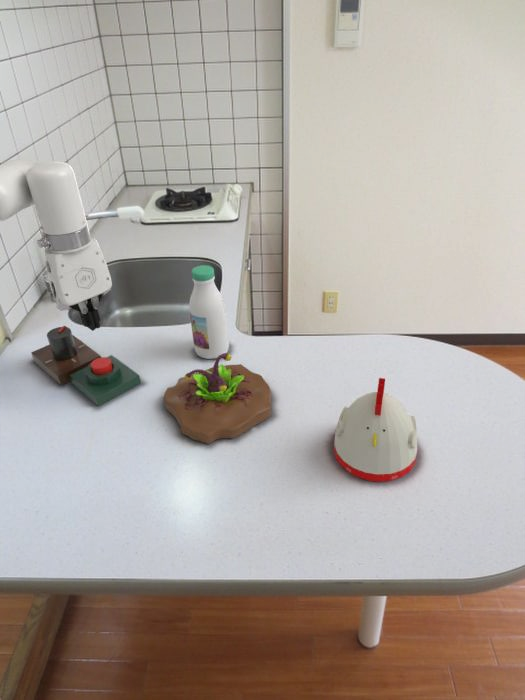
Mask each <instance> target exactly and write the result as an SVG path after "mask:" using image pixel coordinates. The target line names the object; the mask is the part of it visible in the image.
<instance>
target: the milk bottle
mask: <svg viewBox="0 0 525 700" xmlns="http://www.w3.org/2000/svg"><path fill="white" fill-rule="evenodd" d="M214 269H215V268H214V267H213V266H211V265H207V264H206V265H205V264H202V265H197V266H195V267H193V268H192V269H191V278H192V279H191V280H192V282H193V288H192V291H191V295H190V297H189V303H188V304H189V305H188V308H189V318H190V325H191V326H190V327H191V333H192V340H193V348H194V352H195V354H196V355H197V356H198V357H200V358H202V359H208V360H212V359H217V358H218V357H219V355H221V354H224V353H228V351H229V349H230V343H229V342H230V341H229V331H228V322H227V321H228V320H227V313H226V305H225V301H224V298H223V296H222V293H221V292H220V290H219V289H218V287H217V286H216V283H215V279H216V278H215V277H216V276H215V270H214Z"/></svg>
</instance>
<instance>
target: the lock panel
mask: <svg viewBox="0 0 525 700" xmlns="http://www.w3.org/2000/svg"><path fill="white" fill-rule="evenodd" d="M72 335H73V334H72ZM73 339H74V342H75V346H76V349H77V354H76V355H75V356H74V357H72V358H70V359H67V360H56V359H55V358H54V357H53V353H52V350H51V347H50V344H49V343H48V344H47V345H45V346H43V347H40V348H39V349H36V350H33V351H31V352H30V353H31V356H32V359H33V362H34V363H35V364H36V365H37V366H39V367H40V368H41V369H42V370H43V371H44V372H45V373H46V374H47V375H48V376H50V377H51V378H52V379H53V380H54V381H55V382H56V383H57V384H59V385H60V386H64V385H65V384H67V383H69V382H72V381H71V378H70V375H71V374H73V373H75V372H77V371H79V370H81V369H83V368H85V367H87V366H88V365H89V364H90V363H92V362H93V361H94V360H95V359H97V358H101V357H102V356H101V355H100V354H99V353H98V352H97V351H95V350H93V349H92V348H91V347H90V346H88V345H87V344H85V343H84V342H83V341H82V340H81V339H79V338H78V337H76V336H75V335H73Z"/></svg>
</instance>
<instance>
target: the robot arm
mask: <svg viewBox="0 0 525 700" xmlns="http://www.w3.org/2000/svg"><path fill="white" fill-rule="evenodd" d="M32 206H34V208H35V211H36V214H37V218H38V221H39V225H40V228H41V231H42V232H41V235H42V236H41V238H40V239H37V240H36V243H37V246H38V247H39V248H40V249H42V248H45V249H44V259H45V260H44V261H45V268H46V274H47V278H48V283H49V287H50V291H51V292H52V296H53V297H54V299H55V306H56V309H58V310H60V311H62V312H63V311H69V310H74V311H76V312H78V313H79V317H80V320H81V322H82V325H83V327H85V328H88V329H89V330H90V331H92V332H93V331H95V330H96V329H100V328H101V324H100V322H101V317H100V314H99V310H98V309H99V307H100V302H101V300H102V298H103V297H104V296H105V295H107V294H108V293H109V292H110V291H112V287H113V281H112V277H111V273H110V270H109V266H108V264H107V261H106V258H105V255H104V254H103V251H102V249H101V247H100V245H99V242H98V241H97V239H96V238H95V237H92V235H91V233H90V228H89V223H88V221H87V218H86V214H85V209H84V205H83V201H82V197H81V193H80V189H79V186H78V181H77V177H76V174H75V171H74V168H72V166H71V165H70V164H68V163H66V162H62V161H48V162H37V161H31V160H27V159H12V160H9V161H6V162H4V163H2V164H0V222H3V221H6V220H8V219H10V218H12V217H14V216H15V215H17V214H18V213H20V212H21V211H23V210H25V209H27V208H29V207H32Z"/></svg>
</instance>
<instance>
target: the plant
mask: <svg viewBox="0 0 525 700" xmlns="http://www.w3.org/2000/svg"><path fill="white" fill-rule="evenodd" d="M221 359H223V360H224V361H226V362H229V361H231V360H232V355H231V354H230V353H228V352H227V353H224V354H221V355H219V357H218V358H215V362H214V364H213V366H212V367H210V368H208V369H202V368H201V369H200V368H199V369H198V368H197V369H193V370H191V371H190V372H187V373H186V374H185V375H184V376H182V377H180V378H178V379H177V383H176V384H175V385H173V386H170V387H167V388H166V390H165V391H164V393H163V400H164V401H163V403H164V405H165V409H166V410H167V412H168V413H169V414H171V415H172V416H173V417H174V418H175V419H176V421H177V423H178V424H179V426H180V430H181V434H182V435H184V436H187V437H189V438H190V439H191V440H194V441H197V442H201V443H203V444H204V443H205V444H207V445H210V444H212V443H213V442H215V441H217V440H221V439H235V438H237V437H239V436H241V435H242V434H244V433H246V432H247V431H249V430H251V429H252V428H254V427H255V426H257V425H258V424H260V423H263V422H265V420H268V419H269V418H270V417H272V405H271V403H272V390H271V388H270V386H269V384H268V383H267V382H266V381H265V379H264V378H263V376H262V375H261V374H260V373H257V372H256V373H255V372H253V371H252V370H250V369H248V368H247V367H246V366H244V365H243V364H241V363H240V364H225V365H224V364H220V360H221ZM219 364H220V365H219Z"/></svg>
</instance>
